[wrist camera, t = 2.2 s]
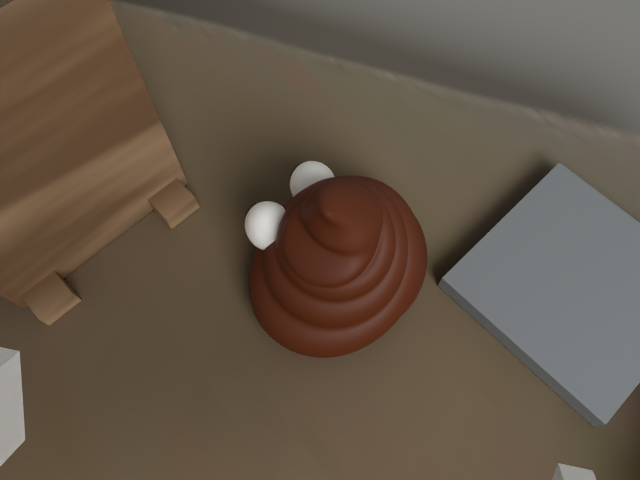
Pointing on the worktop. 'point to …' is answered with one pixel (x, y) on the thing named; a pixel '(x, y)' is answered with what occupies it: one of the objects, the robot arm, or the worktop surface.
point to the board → (561, 291)
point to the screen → (74, 148)
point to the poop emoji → (333, 262)
